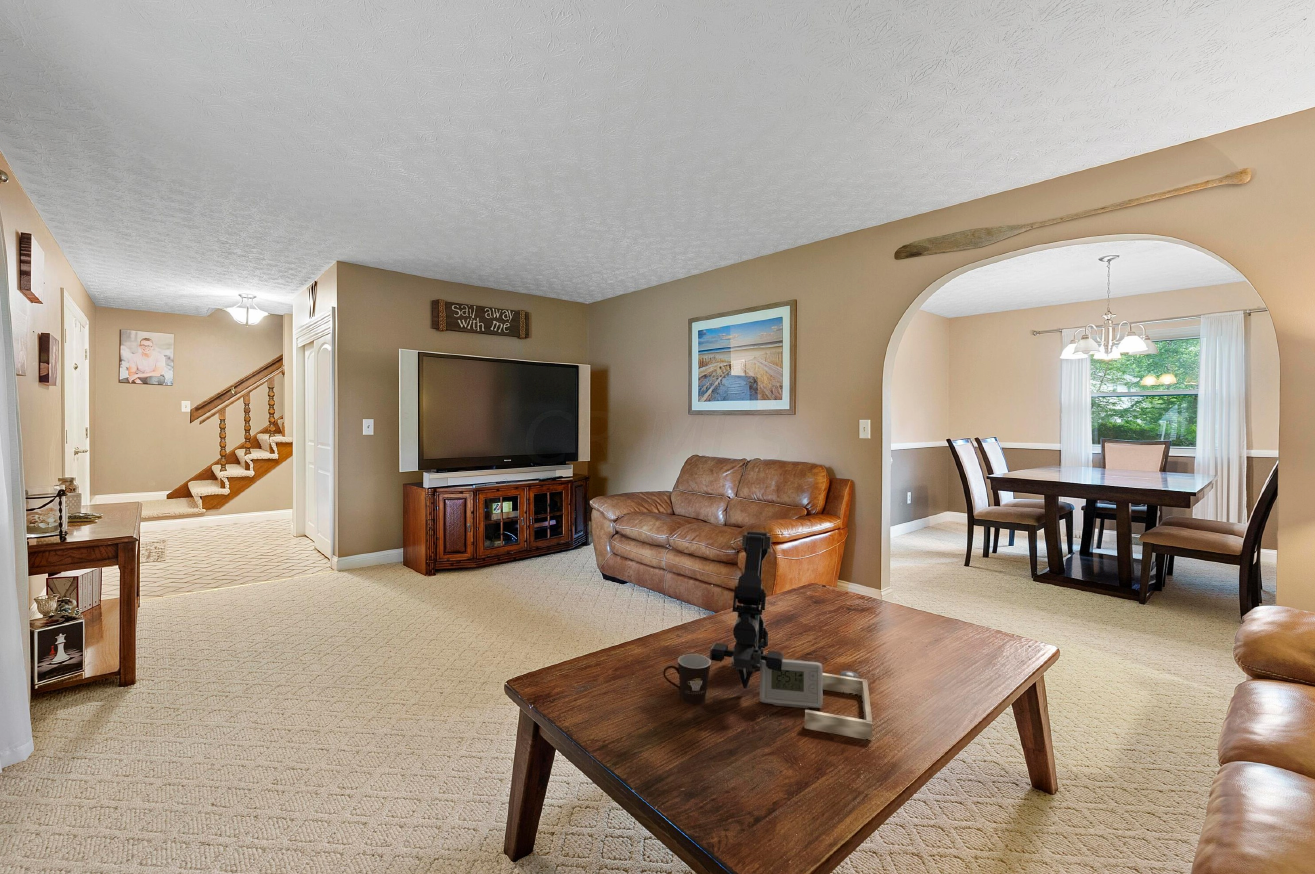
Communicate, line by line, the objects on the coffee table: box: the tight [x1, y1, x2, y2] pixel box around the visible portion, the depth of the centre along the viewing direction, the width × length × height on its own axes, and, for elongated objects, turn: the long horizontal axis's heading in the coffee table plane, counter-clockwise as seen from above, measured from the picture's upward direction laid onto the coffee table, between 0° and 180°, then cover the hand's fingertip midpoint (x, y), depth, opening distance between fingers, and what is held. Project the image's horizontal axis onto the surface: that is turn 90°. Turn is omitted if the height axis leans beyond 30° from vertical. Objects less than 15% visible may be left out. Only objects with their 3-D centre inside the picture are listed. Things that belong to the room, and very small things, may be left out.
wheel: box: [839, 670, 860, 679], centre depth 167 cm, size 5×5×2 cm
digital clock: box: [759, 658, 824, 709], centre depth 154 cm, size 16×9×11 cm, turn 72°
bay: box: [803, 672, 874, 741], centre depth 150 cm, size 15×23×4 cm, turn 164°
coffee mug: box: [662, 653, 712, 706], centre depth 154 cm, size 12×9×10 cm
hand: (745, 687), depth 157 cm, fingers closed, pressing on digital clock
